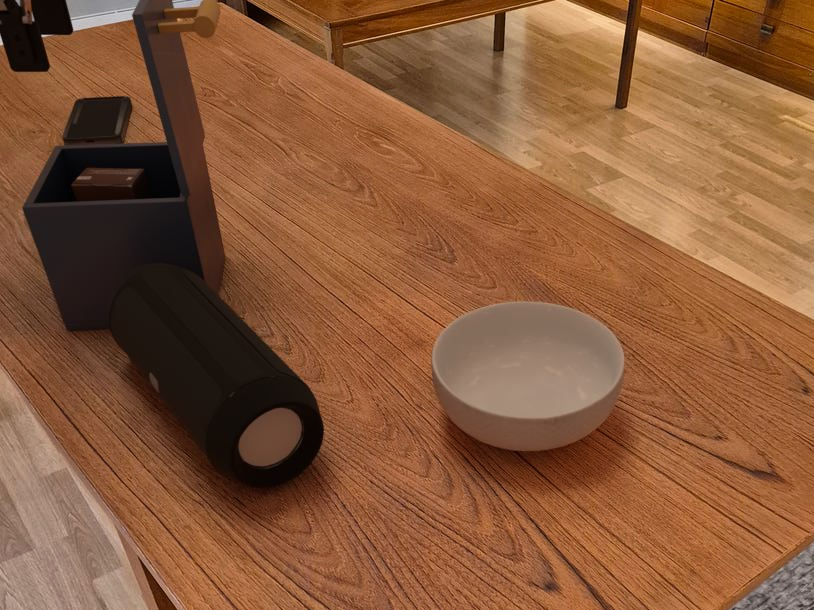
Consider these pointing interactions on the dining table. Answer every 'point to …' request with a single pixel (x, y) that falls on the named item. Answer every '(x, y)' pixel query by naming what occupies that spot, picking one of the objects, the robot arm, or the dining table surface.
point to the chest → (119, 227)
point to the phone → (98, 121)
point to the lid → (175, 77)
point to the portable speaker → (216, 376)
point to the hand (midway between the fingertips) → (44, 51)
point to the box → (111, 185)
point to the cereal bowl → (527, 374)
